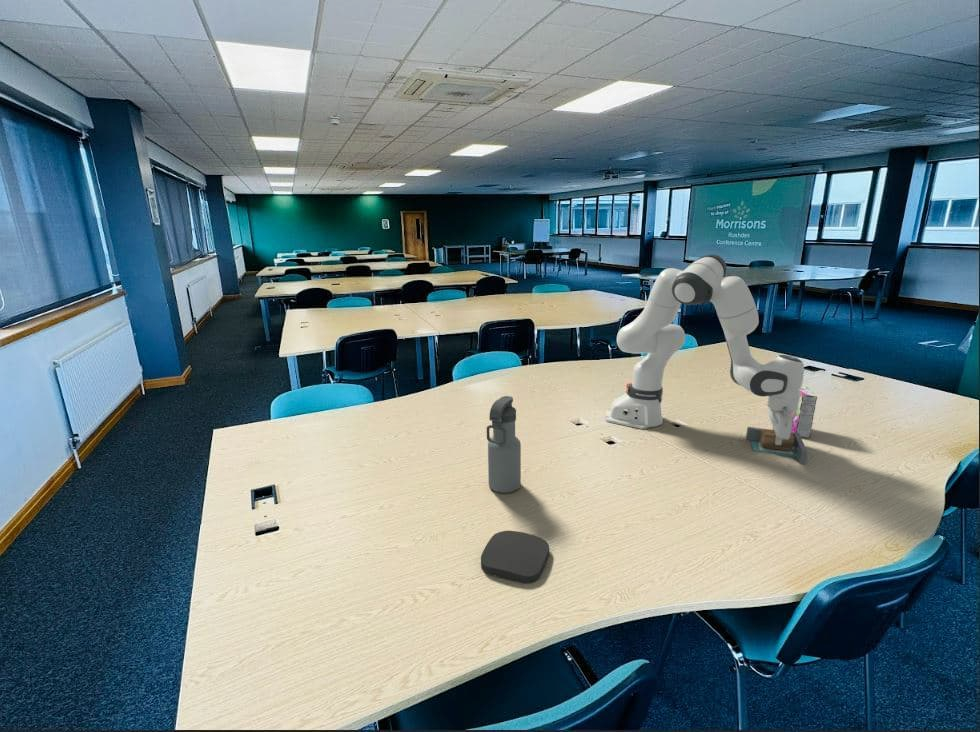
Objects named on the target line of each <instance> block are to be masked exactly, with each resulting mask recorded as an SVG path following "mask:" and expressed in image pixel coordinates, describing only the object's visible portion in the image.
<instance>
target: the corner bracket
mask: <svg viewBox="0 0 980 732" xmlns="http://www.w3.org/2000/svg"><path fill="white" fill-rule="evenodd" d="M761 429H763V428H762V427H761V428H760V427H753V426H747V428H746V434H745V435H746V436H745V440H746V441H751V442H750V443H751V447H752V450H753V452H757V453H765V454H769V455H770V454H773V455H778V456H779V455H780V456H786V457H792V458H797V461H798V462H799V465H806V463H807V456H808V449H807V448H806V446H805V443H804V442H803V439H802V437H800V435H799V433H794V432H791V433H792V434H793V435H794V443H793V448H792V450H783V449H773V448H763V447H762V446H761V444H760V442H759V441H760V435H761Z"/></svg>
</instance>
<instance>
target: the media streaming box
mask: <svg viewBox="0 0 980 732" xmlns="http://www.w3.org/2000/svg"><path fill="white" fill-rule="evenodd" d="M549 556H550V544H549V543H548V542H547V541H546V540H545V538H543V537H541V536H538V535H534V534H531V533H528V532H524V531H518V530H517V531H516V530H503V531H502V530H501V531H498V532H496V533H494V534H493V535H492V536H491V538H489V540H488V542H487V543H486V545H485V547H484V548H483V551H482V553H481V555H480V567H481V569H482V571H483V572H484V573H485V574H487V575H490V576H493V577H497V578H499V579H504V580H509V581H511V582H512V581H513V582H516V583H521V584H532V583H535V582H537V581H538V580H539V579H540V578H541V576H542V574H543V571H544V569H545V568H546V564H547V563H548V559H549Z"/></svg>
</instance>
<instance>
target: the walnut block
mask: <svg viewBox="0 0 980 732" xmlns="http://www.w3.org/2000/svg"><path fill="white" fill-rule="evenodd" d="M775 438H776V434H775V431H774V430H773V429H769V428H762V429H761V435H760V441H758V442H760V444H761V446H762V447H763V448H773V449H783V450H792V448H793V443H794V435H793V434H792V433H791V434H790V438H789V439H788V440H786V439H783V440H782V443H781V445H776V444H775Z"/></svg>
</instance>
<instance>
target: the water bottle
mask: <svg viewBox="0 0 980 732" xmlns="http://www.w3.org/2000/svg"><path fill="white" fill-rule="evenodd" d="M513 402H514V397H513V396H509V395H504V396H501V397H500V398H498V399H496V400H495V401H494V402H493V404H492V405H491V407H490V410H489V421H491V424H489V425H488V426H487V427H486V440H487V441H488V442H487V454H488V455H487V463H488V464H487V465H488V466H487V467H488V469H487V470H488V474H487V475H488V486H489V488H490V489H491V491H494V492H496V493H499V494H509V492H510V493H513V491H514V492H515V490H516V491H517V490H519V489H520V487H521V481H522V478H521V476H522V475H521V473H522V471H521V470H522V467H521V465H522V463H521V462H522V459H521V457H522V456H521V455H522V454H521V453H522V451H521V450H522V447H521V445H522V443H521V441H520V438H518V436H516V421H517V409H516V407H514V406H513ZM490 429H492V435H493V436H492V437H491V436H490Z"/></svg>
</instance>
